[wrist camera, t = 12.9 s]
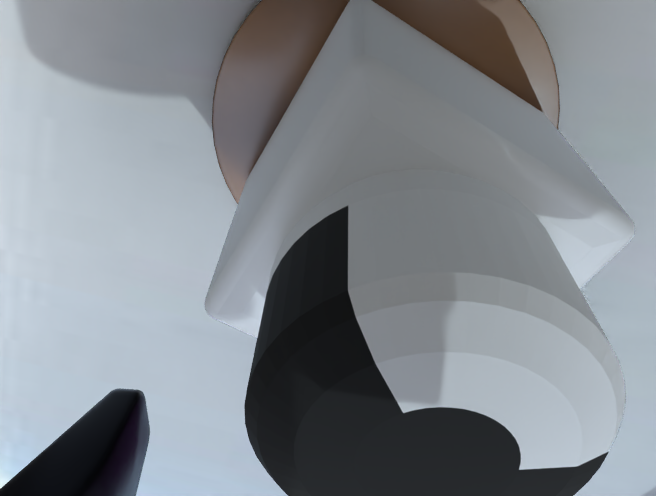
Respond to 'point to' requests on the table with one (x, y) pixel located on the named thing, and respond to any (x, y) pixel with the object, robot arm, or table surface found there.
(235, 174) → the cork coaster
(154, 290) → the table surface
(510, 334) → the medicine bottle
